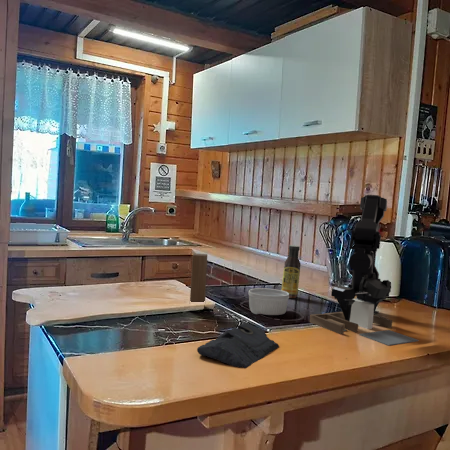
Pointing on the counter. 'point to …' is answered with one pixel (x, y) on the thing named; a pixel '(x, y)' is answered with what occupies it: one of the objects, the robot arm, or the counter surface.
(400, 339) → the mat
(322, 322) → the rack
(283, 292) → the ramekin
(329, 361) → the counter surface
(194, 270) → the wooden block
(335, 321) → the offcut upper
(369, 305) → the board
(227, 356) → the folded dark cloth
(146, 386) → the counter surface
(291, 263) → the sauce bottle
